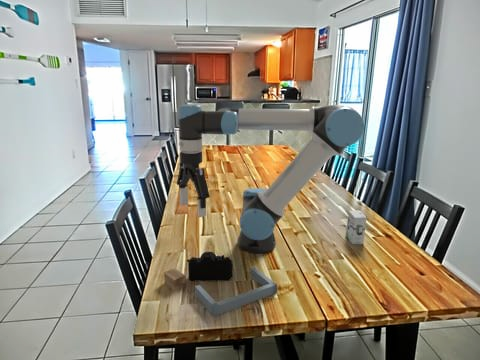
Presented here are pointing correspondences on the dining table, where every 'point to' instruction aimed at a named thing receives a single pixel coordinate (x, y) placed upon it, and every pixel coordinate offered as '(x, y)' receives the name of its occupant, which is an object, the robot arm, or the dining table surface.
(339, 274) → the dining table surface
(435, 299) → the dining table surface
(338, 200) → the dining table surface
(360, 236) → the ink box
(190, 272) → the film camera
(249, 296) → the bay
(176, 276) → the oak chock block
